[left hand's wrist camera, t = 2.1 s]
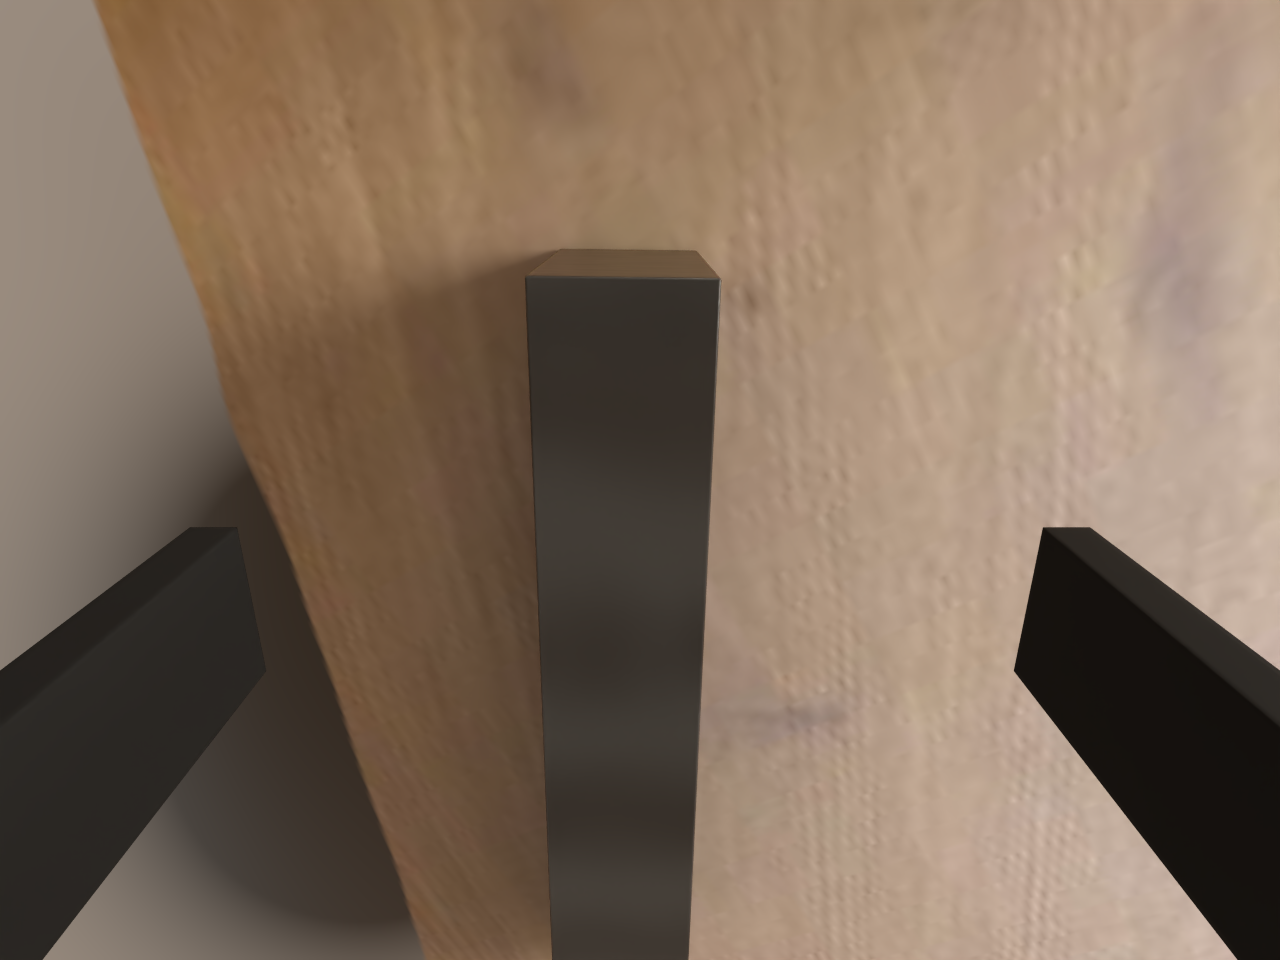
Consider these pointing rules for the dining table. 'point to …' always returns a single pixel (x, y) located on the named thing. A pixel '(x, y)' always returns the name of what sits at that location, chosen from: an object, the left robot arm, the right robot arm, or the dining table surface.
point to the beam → (621, 585)
